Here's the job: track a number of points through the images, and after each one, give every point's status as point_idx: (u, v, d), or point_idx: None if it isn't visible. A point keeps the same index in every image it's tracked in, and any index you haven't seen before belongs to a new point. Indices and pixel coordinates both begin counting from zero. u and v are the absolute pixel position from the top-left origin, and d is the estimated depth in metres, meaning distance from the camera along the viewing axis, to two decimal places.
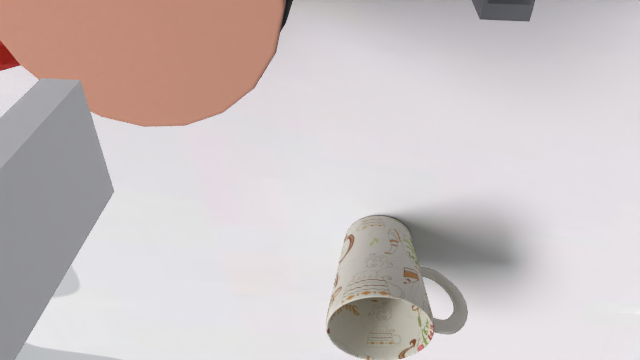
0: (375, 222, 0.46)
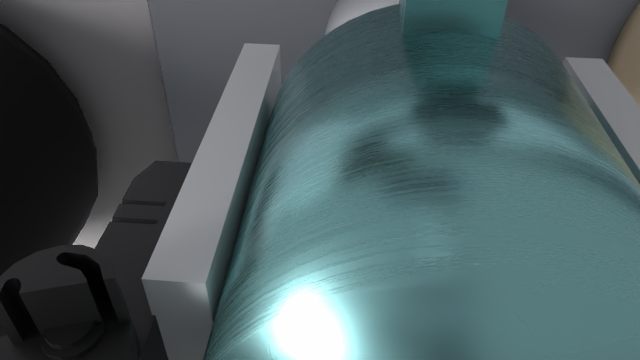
0: None
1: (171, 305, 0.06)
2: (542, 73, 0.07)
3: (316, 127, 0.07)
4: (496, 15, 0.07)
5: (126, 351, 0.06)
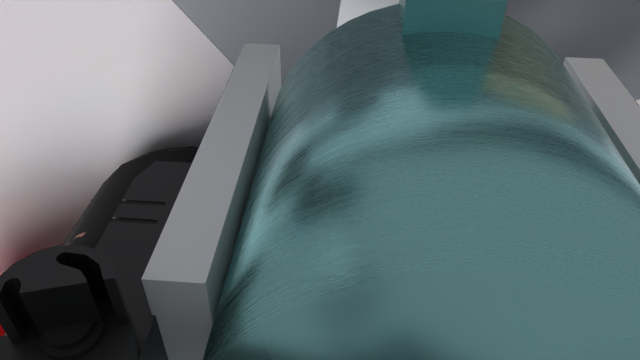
0: None
1: (171, 305, 0.06)
2: (542, 73, 0.07)
3: (316, 127, 0.07)
4: (495, 15, 0.07)
5: (126, 351, 0.06)
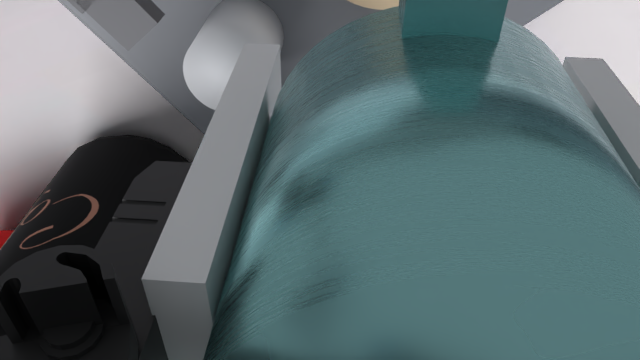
0: None
1: (171, 306, 0.06)
2: (542, 76, 0.07)
3: (316, 130, 0.07)
4: (495, 18, 0.07)
5: (126, 351, 0.06)
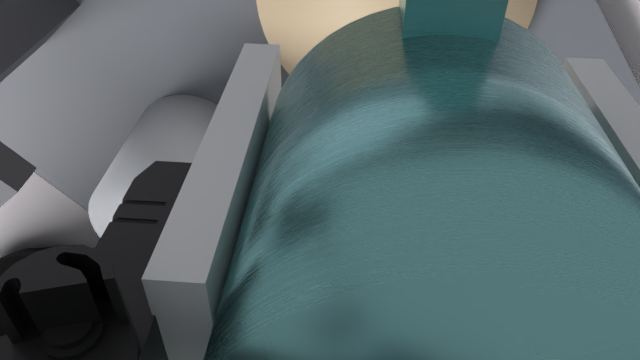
0: None
1: (171, 306, 0.06)
2: (543, 76, 0.07)
3: (316, 130, 0.07)
4: (496, 18, 0.07)
5: (126, 351, 0.06)
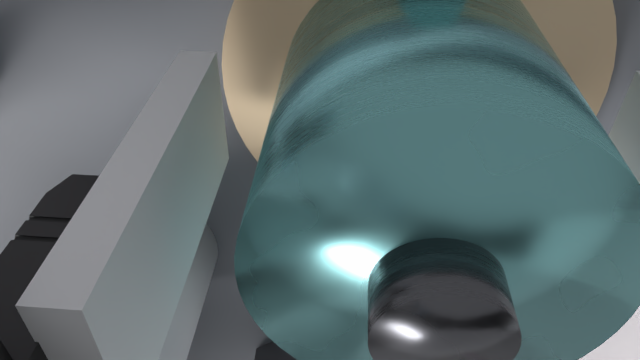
0: None
1: (52, 332, 0.06)
2: (505, 7, 0.09)
3: (327, 46, 0.09)
4: None
5: None
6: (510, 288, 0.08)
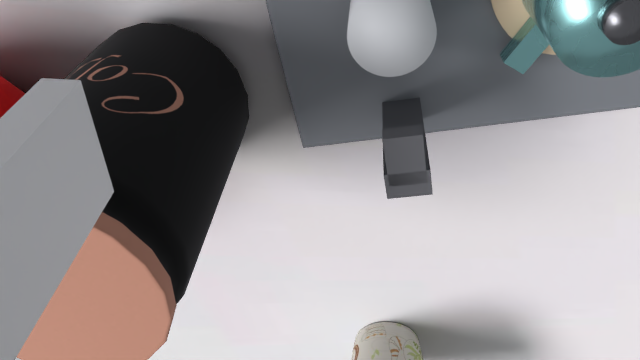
0: (377, 330, 0.48)
1: None
2: None
3: None
4: None
5: None
6: None
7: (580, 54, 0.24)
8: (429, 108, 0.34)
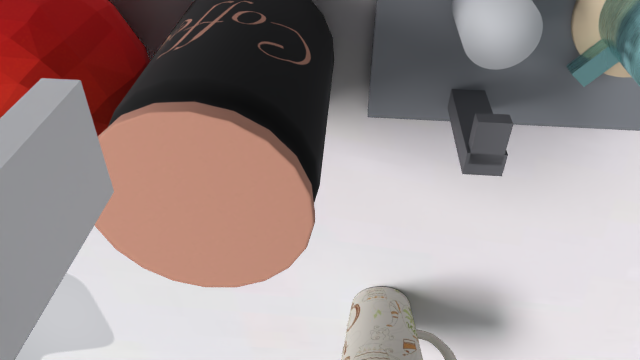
0: (378, 293, 0.52)
1: None
2: None
3: None
4: None
5: None
6: None
7: None
8: (490, 101, 0.38)
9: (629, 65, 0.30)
